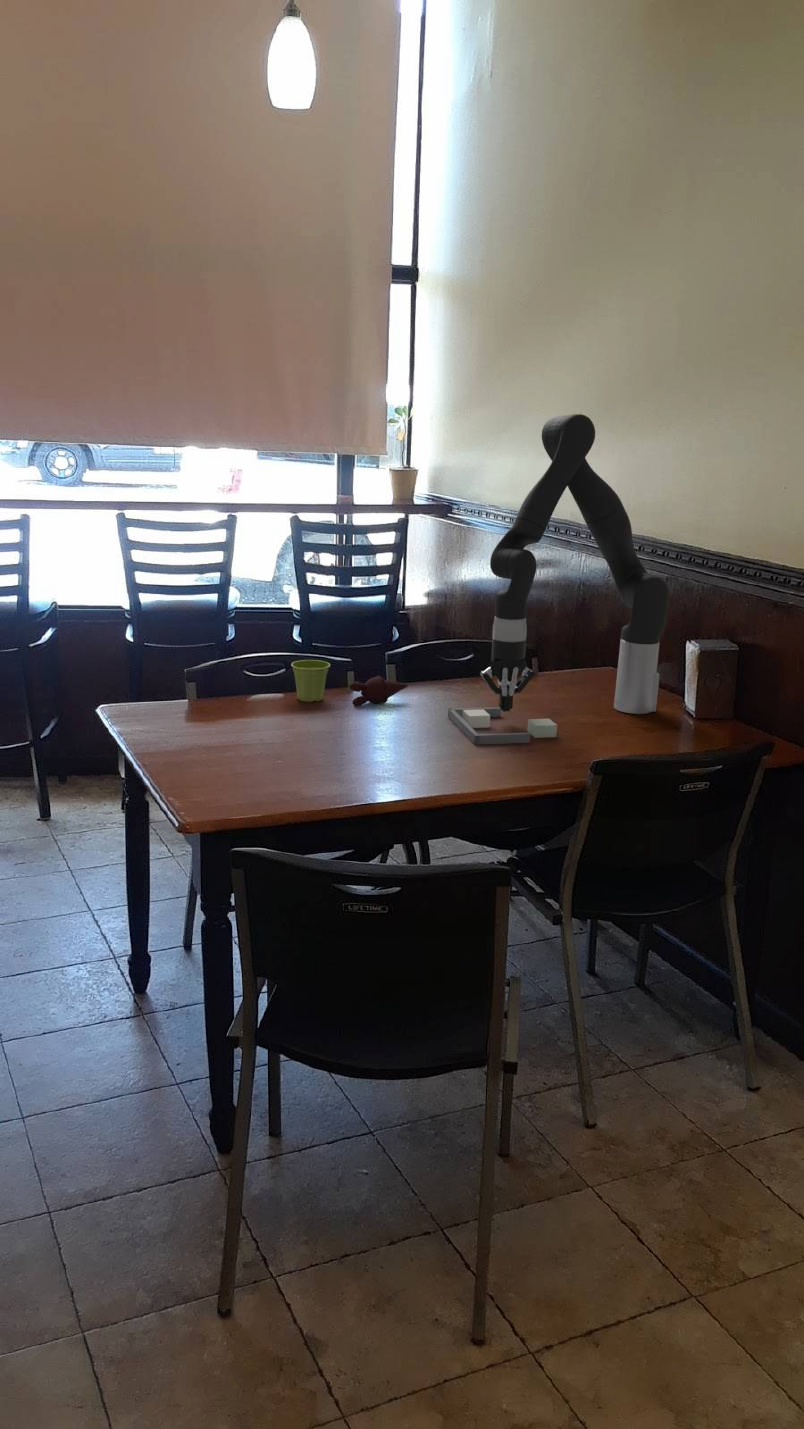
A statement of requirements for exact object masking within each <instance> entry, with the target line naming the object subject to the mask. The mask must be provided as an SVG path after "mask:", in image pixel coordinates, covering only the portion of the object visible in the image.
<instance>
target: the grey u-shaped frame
mask: <svg viewBox="0 0 804 1429" xmlns="http://www.w3.org/2000/svg"><path fill="white" fill-rule="evenodd" d="M481 709H484V710H485V711H486V712H487V713H488V714H489V715H490V718H500V717H501V716H502V710H501V708H500V707H499V706H498V707H497V706H496V707H493V706H492V707H462V708H459V707H458V708H456V707H455V708H454V707H453V708H448V712H447V717H448V719H449V720H450V721H452V723H453V724H454V725H455V726H456V727H457V728H458V729H459V730H460V731H461V732H462V733H463V734H464V735H465V737H467V738H468V739H469V741H471V742H472V744H473V745H477V746H478V745H498V744H499V745H501V744H530V743H531V740H530V739H531V734H530V733H529V732H508V733H507V732H506V733H505V732H504V733H478V732H477V731H476V730H475V728H472V727H471V726H470V725H469V724H468V723H467V722H466V721H465V720H464V719H463V718H462V717H463V710H481Z"/></svg>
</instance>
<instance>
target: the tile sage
mask: <svg viewBox="0 0 804 1429" xmlns="http://www.w3.org/2000/svg"><path fill="white" fill-rule="evenodd" d="M557 730H558V724H557V723H556V722H554V721H552V720H551V719H550V718H533V719H532V718H529V719H527V730H526V731H527V733H530V736H532V737H533V738H535V739H536V738H537V739H538V738H540V739H541V738H557V732H558V731H557Z"/></svg>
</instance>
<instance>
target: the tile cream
mask: <svg viewBox="0 0 804 1429" xmlns="http://www.w3.org/2000/svg"><path fill="white" fill-rule="evenodd" d="M462 718H463V719H464V720H465V721H466V722H467V723H468V724H469V725H470V726H471V727H472V728H473V729H475V728H477V729H478V728H479V729H481V728H490V726H491V717H490V715H489V714H488V713H487V712H486V711H485V710H484V709H481V710H463V717H462Z"/></svg>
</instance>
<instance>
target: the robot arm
mask: <svg viewBox="0 0 804 1429" xmlns="http://www.w3.org/2000/svg"><path fill="white" fill-rule="evenodd" d="M595 428H596V427H595V424H594V422H593V421H592V420H591V419H590V418H589V417H588V416H587V415H585V414H580V413H573V414H567V415H566V414H565V415H560V416H559V415H558V416H555V417H552V418H550V419H548V420H547V421H546V422H545V423H544V425H543V427H542V430H541V440H542V441H541V442H542V446H543V448H544V450H545V452H546V454H547V455H548V457H549V458H550V461H551V463H550V465H549V466H548V468H547V469H546V470H545V472H544V474H543V475H542V476H541V477H540V478H539V480H538V481H537V482H536V483H535V484H534V486H533V487H532V488H531V490H530V491H529V492H528V494H527V495H526V496H525V499H524V500H523V501H522V504H521V506H520V508H519V510H518V513H517V515H516V517H515V519H514V521H513V524H512V525H511V527H510V528H509V529H508V530H507V532H506V533H505V534H504V536H503V537H502V538H501V539H500V541H499V542H498V543H497V545H496V546H495V547H494V549H493V551H492V553H491V556H490V563H489V565H490V567H489V568H490V570H491V572H492V574H493V575H495V576H496V577H498V578H501V579H506V580H510V583H509V585H508V588H506V589H501V590H499V591H498V592H497V593H496V595H495V602H494V618H493V624H492V636H491V637H492V639H491V640H492V641H491V642H492V643H491V645H492V646H491V658H490V661H489V664H488V666H489V667H487V668H486V669H485V670H480V672H479V675H480V677H481V678H482V679H483V680H484V682H485V683H486V685H487V686H488V688H489V689H490V690H491V691H492V692H493V693H494V694H496V695H498V707H500V708H501V712H510V711H511V710H512V709H513V702H514V695H515V694H518V693H519V694H520V693H522V691H523V690H525V687H527V685H528V684H529V682H531V680H532V679H533V677H534V676H535V675H536V672H535V671H533V670H532V669H530V668H529V667H528V666H527V662H526V660H525V658H526V643H527V634H528V632H527V628H528V627H527V605H528V598H529V595H530V592H531V589H532V585H533V582H534V580H535V577H536V572H537V561H536V557H535V555H534V554H533V551H532V552H531V550H529V549H525V548H526V547H527V546H529V545H534V544H537V543H539V542H540V541H541V540H542V538H543V536H544V534H545V532H546V531H547V530H546V529H547V527H548V526H549V525H548V524H550V521H551V518H552V516H553V513H554V512H555V509H556V508H557V504H558V503H559V501H560V500H561V498H562V495H563V494H564V492H565V490H566V488H567V487H568V491H569V492H570V494H571V495H572V497H573V500H574V502H575V503H576V506H577V508H578V509H579V511H580V513H581V516H582V518H583V519H584V522H585V525H586V526H587V529H588V530H589V532H590V534H591V536H592V538H593V540H594V541H595V543H596V545H597V547H598V549H599V550H600V552H601V555H602V556H603V559H605V561H606V563H607V565H608V567H609V570H610V573H611V576H612V577H613V580H614V584H615V586H616V588H617V591H618V592H617V593H618V594H619V596H620V599H621V601H622V602H623V604H624V605H625V606H626V607H628V608H629V609H631V613H630V619H629V622H628V624H626V625H624V626H622V628H621V631H620V643H619V653H618V662H617V672H616V673H617V674H616V682H615V692H614V698H613V699H614V701H613V708H614V709H615V710H616V711H619V712H621V713H627V714H631V715H632V714H634V715H645V714H649V713H653V712H657V711H656V710H657V702H658V695H659V694H658V692H659V684H660V673H659V672H657V671H658V669H657V668H658V662H659V661H658V660H659V653H660V652H659V651H660V643H661V642H660V641H661V636H662V634H663V632H664V630H665V627H666V621H667V615H668V610H669V603H670V601H669V600H670V590H669V586H668V584H667V582H666V581H665V580H664V579H663V578H662V577H659V576H656V575H654V574H652V573H649V572H648V571H647V569H646V568H645V567H644V565H643V564H642V561H641V560H640V558H639V556H638V554H637V552H636V550H635V547H634V542H633V529H632V524H631V521H630V520H631V519H630V517H629V516H628V512H627V511H626V509H625V507H624V504H623V502H622V500H621V498H620V497H619V495H618V494H617V492H615V490H614V489H613V488H612V487H611V486H610V485H609V484H608V483H607V482H606V481H605V480H604V479H603V478H602V477H600V475H598V473H597V472H595V470H594V469H593V468H592V467H591V464H589V462H588V461H587V458H586V456H588V454H589V452H590V451H591V450H592V447H593V445H594V442H595V439H596V429H595ZM492 673H493V674H494V676H495V678H496V679H497V684H498V686H497V685H496V683H495V682H494V680H493V679H492V678H493V674H492ZM520 676H521V677H520ZM519 677H520V678H519ZM517 679H518V680H517Z"/></svg>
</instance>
